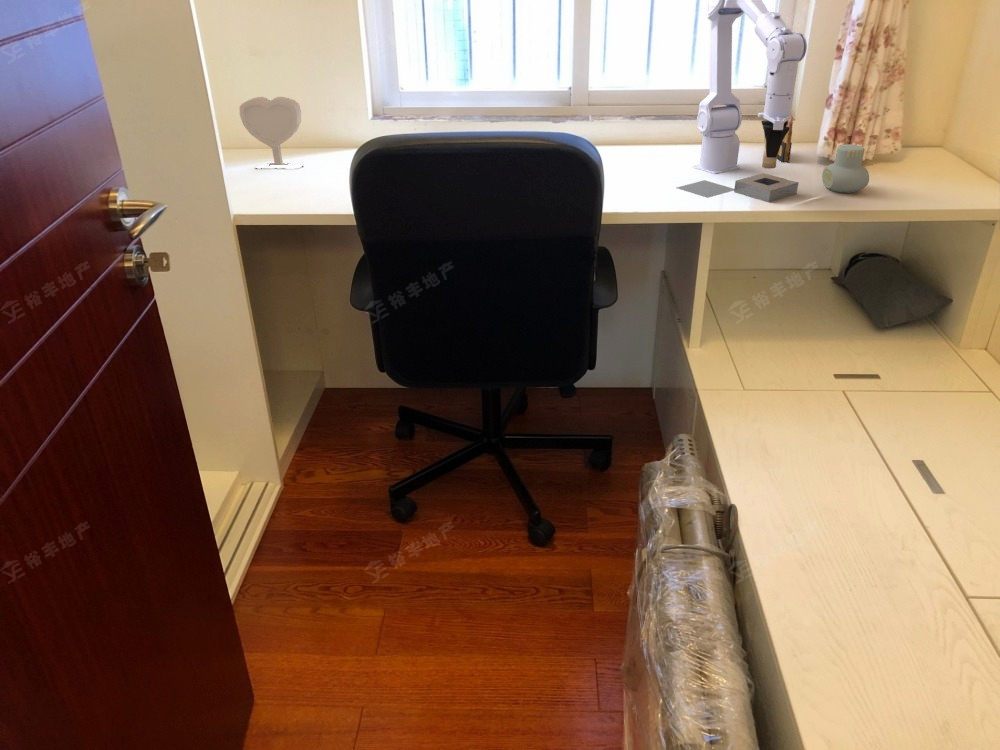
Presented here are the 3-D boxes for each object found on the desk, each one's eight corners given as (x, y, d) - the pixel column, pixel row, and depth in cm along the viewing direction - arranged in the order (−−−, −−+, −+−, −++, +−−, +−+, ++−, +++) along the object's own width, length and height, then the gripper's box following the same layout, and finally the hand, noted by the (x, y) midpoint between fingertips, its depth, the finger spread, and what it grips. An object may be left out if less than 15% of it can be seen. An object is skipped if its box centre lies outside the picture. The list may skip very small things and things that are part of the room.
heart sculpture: (248, 169, 215) (235, 100, 206) (254, 164, 219) (242, 96, 210) (304, 169, 214) (294, 99, 205) (309, 164, 218) (299, 96, 209)
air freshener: (869, 196, 183) (878, 152, 178) (833, 197, 183) (841, 153, 178) (851, 182, 192) (860, 141, 187) (817, 183, 193) (825, 141, 188)
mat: (704, 181, 196) (704, 180, 196) (736, 190, 189) (736, 189, 189) (675, 188, 191) (675, 187, 191) (707, 198, 184) (707, 197, 184)
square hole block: (761, 185, 192) (763, 173, 190) (796, 195, 185) (798, 182, 183) (733, 193, 187) (735, 180, 186) (768, 203, 180) (770, 190, 178)
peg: (766, 164, 185) (771, 124, 180) (778, 166, 183) (783, 126, 178) (759, 167, 183) (764, 127, 178) (771, 169, 181) (775, 128, 176)
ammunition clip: (767, 152, 218) (773, 107, 212) (774, 152, 218) (780, 107, 212) (782, 162, 209) (789, 116, 203) (789, 162, 209) (796, 115, 203)
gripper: (759, 86, 182) (751, 146, 188) (762, 99, 169) (754, 162, 176) (791, 87, 180) (782, 147, 187) (797, 100, 168) (787, 164, 175)
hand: (770, 155), depth 181 cm, fingers closed on peg, 3 cm apart
